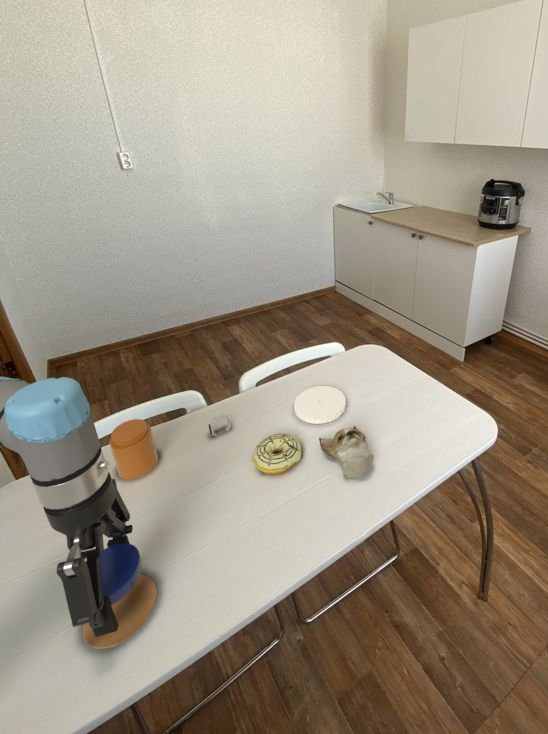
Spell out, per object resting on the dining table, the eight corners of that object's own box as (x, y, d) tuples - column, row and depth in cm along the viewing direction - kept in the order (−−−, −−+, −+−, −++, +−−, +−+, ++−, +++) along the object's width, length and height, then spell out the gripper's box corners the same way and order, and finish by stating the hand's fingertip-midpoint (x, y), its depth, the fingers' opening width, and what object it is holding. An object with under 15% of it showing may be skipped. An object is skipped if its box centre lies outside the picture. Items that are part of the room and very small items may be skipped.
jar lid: (154, 559, 60) (152, 551, 60) (109, 619, 53) (106, 610, 52) (113, 545, 62) (110, 537, 62) (63, 600, 55) (59, 592, 54)
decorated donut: (310, 463, 87) (309, 450, 86) (265, 487, 82) (264, 473, 80) (289, 436, 95) (288, 424, 94) (248, 456, 89) (246, 443, 88)
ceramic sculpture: (339, 460, 77) (314, 418, 90) (341, 495, 79) (317, 449, 92) (385, 443, 81) (355, 405, 94) (386, 476, 83) (357, 435, 96)
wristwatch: (209, 434, 96) (206, 418, 95) (229, 426, 99) (226, 410, 97) (213, 441, 94) (210, 425, 92) (233, 432, 97) (230, 416, 95)
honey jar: (110, 477, 85) (98, 439, 81) (138, 450, 92) (129, 414, 88) (139, 485, 83) (128, 446, 79) (166, 457, 90) (157, 420, 86)
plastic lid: (289, 400, 108) (288, 393, 108) (336, 388, 113) (335, 381, 113) (302, 433, 96) (301, 425, 95) (353, 418, 101) (353, 410, 100)
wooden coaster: (67, 638, 57) (66, 635, 57) (123, 570, 66) (122, 567, 66) (121, 661, 55) (119, 657, 54) (171, 586, 64) (170, 583, 63)
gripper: (75, 557, 43) (122, 675, 50) (131, 428, 62) (159, 528, 70) (-5, 576, 41) (57, 695, 49) (78, 437, 60) (113, 538, 68)
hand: (117, 597), depth 59 cm, fingers closed on jar lid, 8 cm apart
